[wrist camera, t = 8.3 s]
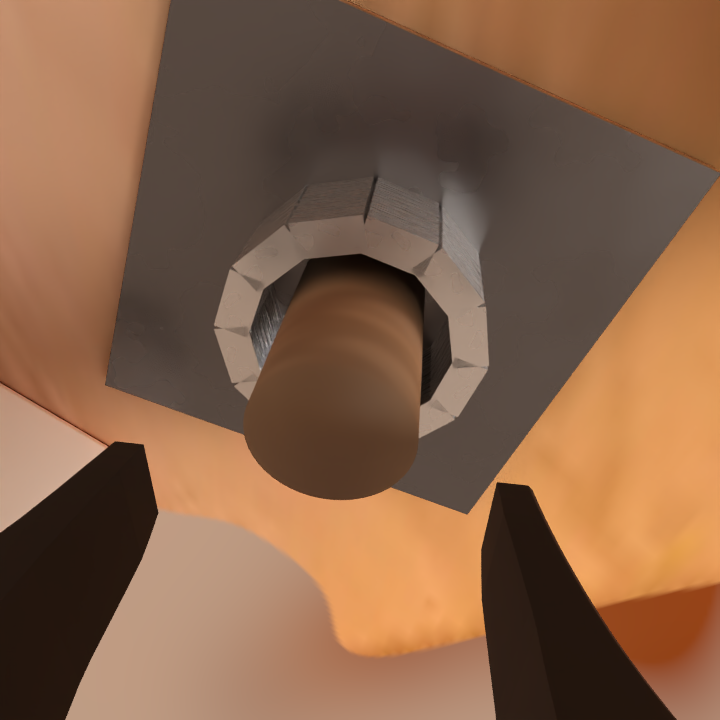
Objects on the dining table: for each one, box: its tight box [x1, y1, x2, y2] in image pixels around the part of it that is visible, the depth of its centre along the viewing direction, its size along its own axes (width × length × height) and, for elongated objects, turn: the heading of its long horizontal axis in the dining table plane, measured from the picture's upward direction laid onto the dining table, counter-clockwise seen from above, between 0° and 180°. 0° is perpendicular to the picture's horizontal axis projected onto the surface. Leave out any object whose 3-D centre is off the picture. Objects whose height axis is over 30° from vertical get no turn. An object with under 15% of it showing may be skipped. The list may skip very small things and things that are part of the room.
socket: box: [105, 0, 720, 514], centre depth 19 cm, size 15×15×4 cm
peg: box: [243, 253, 425, 500], centre depth 17 cm, size 4×4×7 cm
